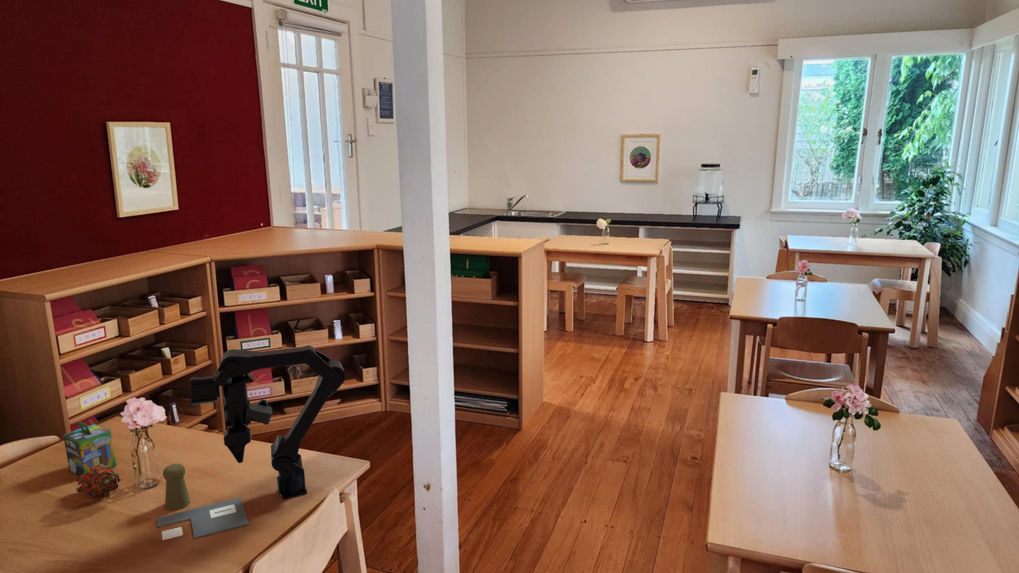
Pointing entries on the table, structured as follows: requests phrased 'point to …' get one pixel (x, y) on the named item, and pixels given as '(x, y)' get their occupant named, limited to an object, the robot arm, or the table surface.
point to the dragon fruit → (98, 481)
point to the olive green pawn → (175, 487)
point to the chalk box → (89, 448)
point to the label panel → (207, 519)
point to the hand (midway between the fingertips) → (240, 454)
